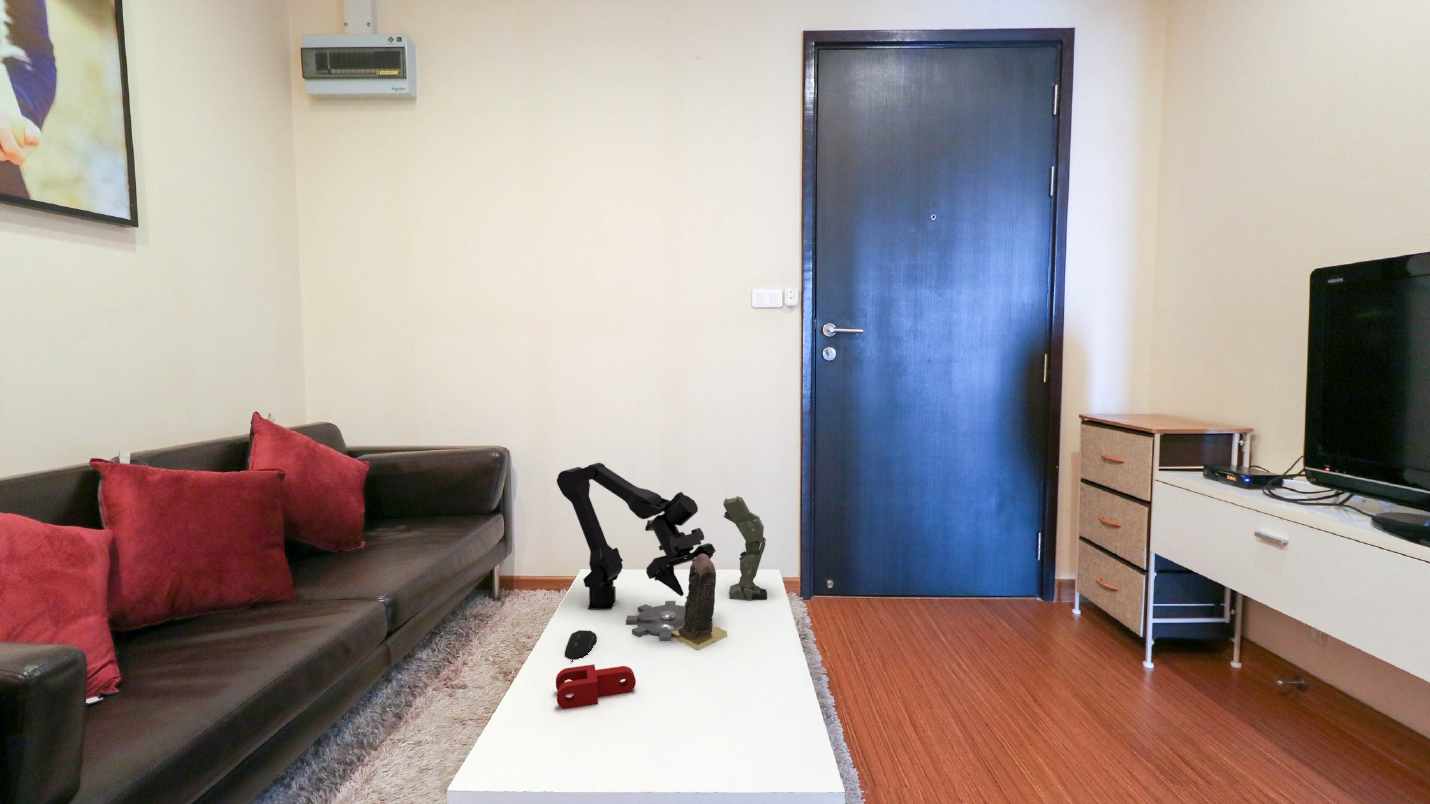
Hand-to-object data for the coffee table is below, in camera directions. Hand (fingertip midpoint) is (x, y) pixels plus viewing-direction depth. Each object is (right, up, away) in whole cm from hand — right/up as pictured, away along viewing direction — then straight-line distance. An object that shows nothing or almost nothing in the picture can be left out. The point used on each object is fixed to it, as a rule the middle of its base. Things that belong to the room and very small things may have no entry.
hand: (697, 590), depth 156 cm
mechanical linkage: (-20, -14, -25) cm, 35 cm away
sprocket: (-6, -11, +7) cm, 14 cm away
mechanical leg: (+13, -9, +26) cm, 31 cm away
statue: (0, -11, 0) cm, 11 cm away
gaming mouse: (-28, -13, -6) cm, 31 cm away
